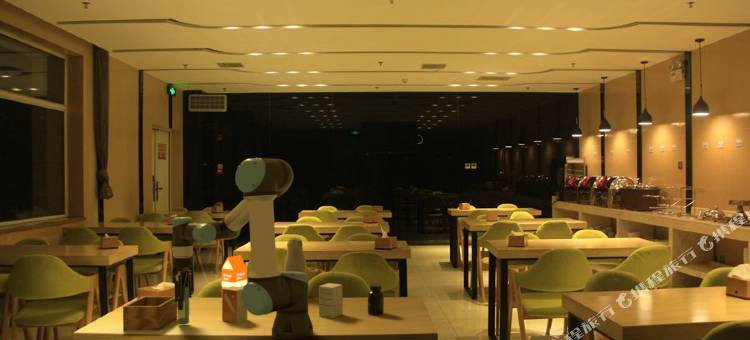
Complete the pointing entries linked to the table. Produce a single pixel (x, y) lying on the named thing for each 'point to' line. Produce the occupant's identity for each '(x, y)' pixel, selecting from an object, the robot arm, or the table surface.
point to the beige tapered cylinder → (295, 256)
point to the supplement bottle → (375, 300)
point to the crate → (149, 313)
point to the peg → (186, 299)
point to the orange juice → (234, 272)
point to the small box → (233, 305)
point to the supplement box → (330, 300)
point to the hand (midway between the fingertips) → (183, 316)
